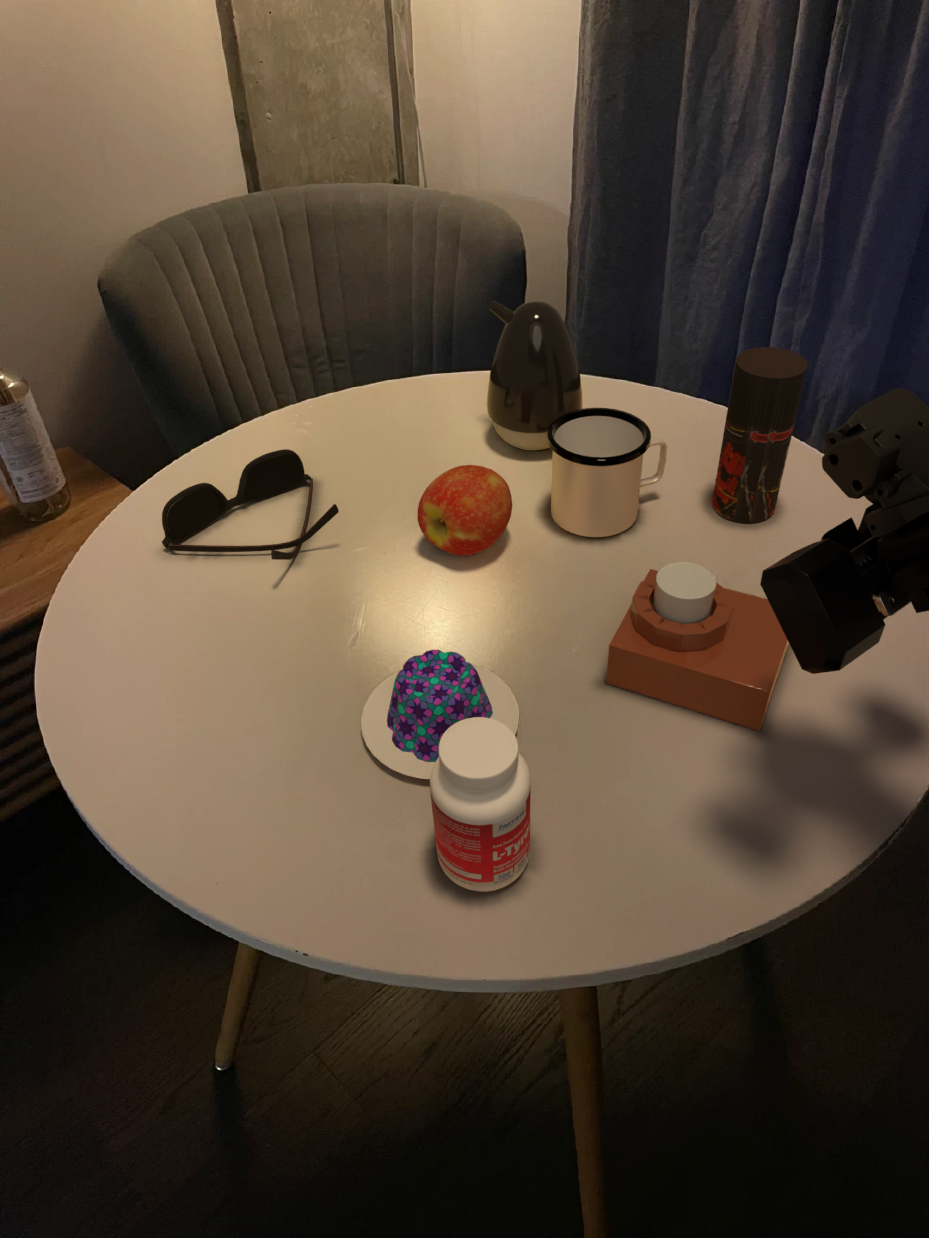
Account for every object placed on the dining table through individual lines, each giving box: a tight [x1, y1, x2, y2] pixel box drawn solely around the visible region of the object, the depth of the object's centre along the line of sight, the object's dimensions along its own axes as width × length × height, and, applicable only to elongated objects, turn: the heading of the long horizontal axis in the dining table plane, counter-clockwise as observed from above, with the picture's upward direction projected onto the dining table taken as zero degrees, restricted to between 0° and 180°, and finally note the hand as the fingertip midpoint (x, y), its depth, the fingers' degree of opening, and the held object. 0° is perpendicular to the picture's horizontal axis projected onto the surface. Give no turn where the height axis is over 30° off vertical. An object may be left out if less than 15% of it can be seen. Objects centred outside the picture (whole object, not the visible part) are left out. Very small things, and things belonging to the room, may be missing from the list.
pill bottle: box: [429, 717, 532, 893], centre depth 55 cm, size 6×6×11 cm
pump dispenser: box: [486, 300, 583, 451], centre depth 93 cm, size 10×10×15 cm
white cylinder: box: [653, 561, 717, 624], centre depth 67 cm, size 4×4×3 cm
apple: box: [416, 464, 513, 556], centre depth 82 cm, size 8×8×8 cm
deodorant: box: [711, 346, 809, 525], centre depth 82 cm, size 6×6×15 cm
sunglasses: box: [161, 448, 340, 561], centre depth 84 cm, size 17×14×5 cm
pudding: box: [360, 649, 520, 780], centre depth 66 cm, size 12×12×5 cm
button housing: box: [605, 568, 790, 731], centre depth 69 cm, size 12×10×6 cm
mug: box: [547, 407, 668, 538], centre depth 84 cm, size 12×10×9 cm
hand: (794, 581), depth 57 cm, fingers closed
